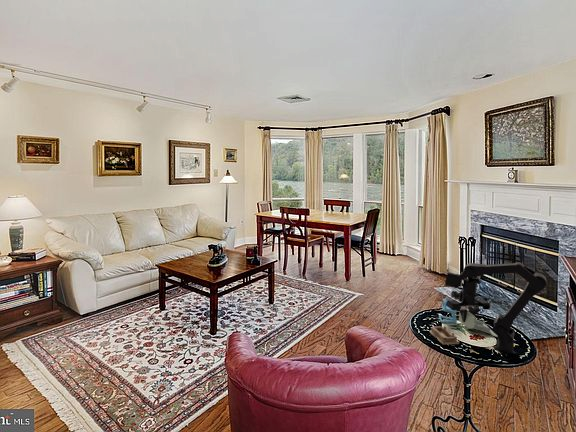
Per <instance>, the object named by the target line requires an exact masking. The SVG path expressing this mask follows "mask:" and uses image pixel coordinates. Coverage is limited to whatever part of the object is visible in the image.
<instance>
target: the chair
mask: <svg viewBox="0 0 576 432" xmlns="http://www.w3.org/2000/svg"><path fill="white" fill-rule="evenodd" d="M448 300H452V299H451V298H448V297H447V298H442V304H441V309H442V311H443V312H447V313H450V315H451V317H450V316H449V317H448V316H445V315H438V319H439V320H440V323H441V324H447V323H448V324H450V323H452V324H453V323H458V320H457V315H456V314H457V313H458V310H452V309H450V308H449V307H447V306H446V302H447V301H448ZM443 319H445V320H443Z"/></svg>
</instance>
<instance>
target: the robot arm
mask: <svg viewBox="0 0 576 432" xmlns="http://www.w3.org/2000/svg"><path fill="white" fill-rule="evenodd" d="M499 274H500V275H501V274H502V275H503V274H517V275H519V276H520V277H521V278H523V279H524V280H525V281H526V282H527V283H526V285H525V287H524V289H523V291H522V292H521V293H520V295H519V296H518V297H517V298H516V299H515V301H514V302H513V304H512V305H511V306H510V307H509V309H508V310H507V311H506V313H504V314H501V313H499V314H498V316H497V317H496V318H495V319H494V320H493V332H494V333H495V334H496V335H497V336H498V337H496V343H495V344H496V345H493V349H495V350H497V351H498V352H499V353H500V354H502V355H516V354H517V352H516V351H514V347H515V346H514V345H515V340H514V337H515V330H513V328H512V326H513V324H514V321H515V320H516V318H517V317H518V316H519V315H520V313H522V311H523V310H524V308H525V307H526V306H527V305H528V303H529V302H530V301H531V300H532V299H533V297H534V296H535V295H537V294H539V293H540V292H541V291H543V290H544V289H545V288H546V286H547V284H548V283H547V278H546V276H545V275H544V274H543V273H541V272H536V271H535V270H533V269H531V268H530V267H528V266H526V265H525V264H523V263H521V262H514V263H499V264H482V263H475V262H469V263H467V264H466V265H465V267H464V268H463V271H461V272H460V274H459V273H453V272H450V271H448V272H447V273H446V277H445V281H444V287H448V288H454V289H459V288H461V287H462V290H461V289H460V291H459V292H458V291H457V290H455V291H454V290H452V291H451V293H450V296H451V298H453V299H454V300H453V299H451V300H447V302H446V306H447V307H449V308H450V309H452V310H457V311H459V313H460V314H461V317H462V321H463V322H465V320H466V316H467V312H470V313H471V314H473V315H474V316H475V317H476V315H478V314H479V312H481V309H480V307H481V308H482V309H483V310H485V311H486V310H491V304H490V303H489V302H488V301H486V300H485V299H476V297H478V296H479V295H478V293H477V287H478V286H477V285H478V284H480V285H481V284H482V282H483V280H482V279H481V278H480V277H483V276H486V275H499ZM457 300H458V301H459V302H458V301H457ZM467 308H468V309H467Z"/></svg>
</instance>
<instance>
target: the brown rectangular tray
mask: <svg viewBox="0 0 576 432" xmlns="http://www.w3.org/2000/svg"><path fill="white" fill-rule="evenodd" d="M446 327H447V326H446V325H444V326H439V325H438V326H437V325H436V326H432V327H431V329H430V330H429V333H430V334H431V335H432V336H433V337H434V338H435V339H436V338H437V339H436V340H437V341H439V343H441V344H442V345H459V344H460V341H459V340H458V337H457V336H456V335H455V333H454V332H451V331H450V330H449V329H448V328H446Z"/></svg>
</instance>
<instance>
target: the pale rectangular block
mask: <svg viewBox="0 0 576 432" xmlns="http://www.w3.org/2000/svg"><path fill="white" fill-rule="evenodd" d="M475 317H476V315H475V316H474V315H473V314H471V313H470V312H469V311H468V312H467V316H466V320H465V322H463V321H462V317H461V314H460V312H459V316H458V321H459V323H460V324H462V325H463V326H466V327H468V330H470V329H475V328H474V322H475V319H476V318H475Z"/></svg>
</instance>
